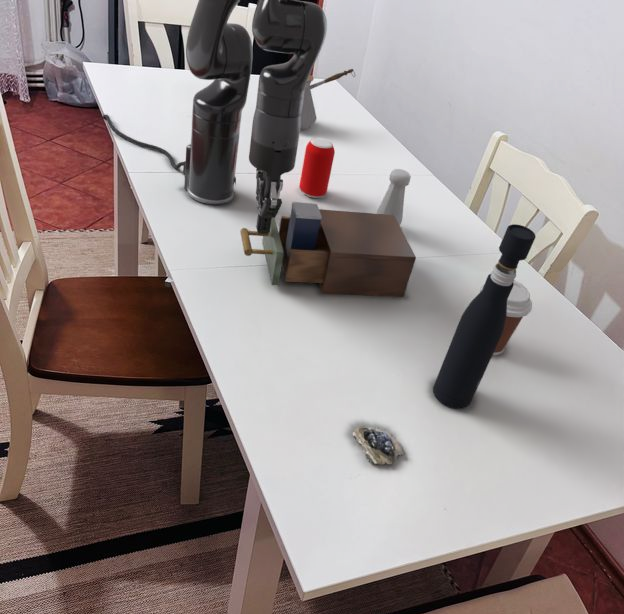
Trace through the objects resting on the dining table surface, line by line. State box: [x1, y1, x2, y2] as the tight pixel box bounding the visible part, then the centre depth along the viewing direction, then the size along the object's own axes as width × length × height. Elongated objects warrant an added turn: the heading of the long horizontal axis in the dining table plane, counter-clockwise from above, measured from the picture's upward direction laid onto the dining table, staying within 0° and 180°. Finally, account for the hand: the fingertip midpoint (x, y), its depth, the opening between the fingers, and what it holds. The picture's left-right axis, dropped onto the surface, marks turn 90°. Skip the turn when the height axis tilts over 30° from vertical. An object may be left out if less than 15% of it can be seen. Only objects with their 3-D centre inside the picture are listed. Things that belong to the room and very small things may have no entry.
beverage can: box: [299, 137, 336, 199], centre depth 143 cm, size 6×6×12 cm
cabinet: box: [318, 208, 417, 298], centre depth 123 cm, size 16×15×9 cm
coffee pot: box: [300, 68, 356, 132], centre depth 172 cm, size 21×12×15 cm, turn 120°
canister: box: [284, 201, 322, 265], centre depth 118 cm, size 4×4×10 cm
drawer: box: [239, 215, 329, 286], centre depth 119 cm, size 20×14×7 cm
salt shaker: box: [375, 168, 412, 226], centre depth 138 cm, size 6×6×13 cm
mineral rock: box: [352, 425, 405, 466], centre depth 92 cm, size 7×8×2 cm
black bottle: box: [432, 223, 536, 410], centre depth 95 cm, size 6×6×30 cm
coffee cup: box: [479, 279, 533, 356], centre depth 113 cm, size 9×9×12 cm
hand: (262, 231), depth 115 cm, fingers closed
